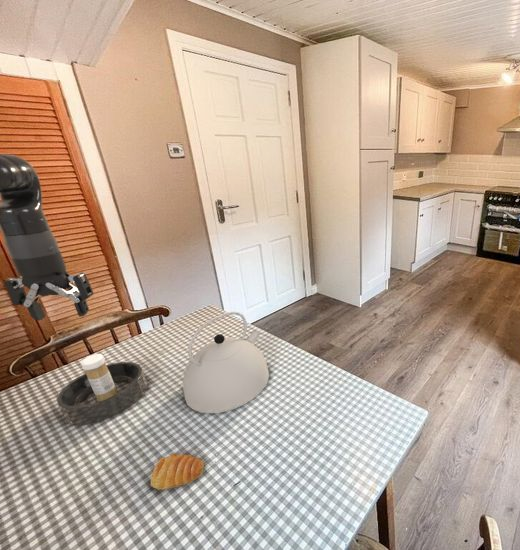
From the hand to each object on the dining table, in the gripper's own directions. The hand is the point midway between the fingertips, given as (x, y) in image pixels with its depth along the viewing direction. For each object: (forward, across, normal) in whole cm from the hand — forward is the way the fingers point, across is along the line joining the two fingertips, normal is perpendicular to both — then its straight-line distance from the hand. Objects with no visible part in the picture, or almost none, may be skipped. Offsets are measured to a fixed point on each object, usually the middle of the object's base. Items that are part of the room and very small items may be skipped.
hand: (62, 316), depth 72 cm
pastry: (+27, -27, +27) cm, 47 cm away
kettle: (+27, -34, 0) cm, 43 cm away
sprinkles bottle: (+27, -2, -1) cm, 27 cm away
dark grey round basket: (+27, -2, -1) cm, 27 cm away
